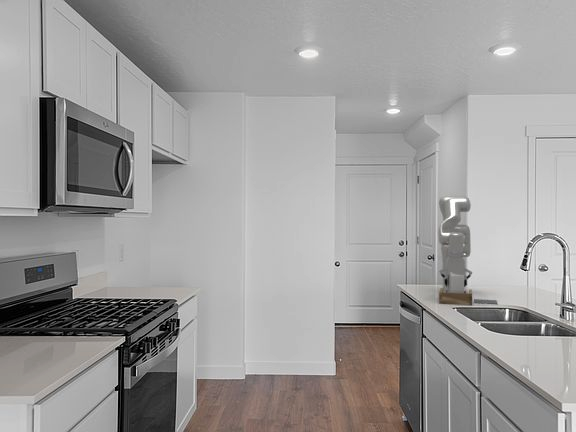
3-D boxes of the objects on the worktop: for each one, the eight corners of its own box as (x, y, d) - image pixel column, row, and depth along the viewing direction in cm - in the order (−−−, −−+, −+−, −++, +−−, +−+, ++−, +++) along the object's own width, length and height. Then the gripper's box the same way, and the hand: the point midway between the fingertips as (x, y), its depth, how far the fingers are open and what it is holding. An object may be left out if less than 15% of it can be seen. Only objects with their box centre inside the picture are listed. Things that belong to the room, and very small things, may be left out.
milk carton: (464, 303, 274) (464, 268, 274) (451, 303, 274) (451, 268, 274) (460, 301, 281) (460, 267, 281) (447, 301, 281) (447, 267, 281)
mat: (473, 299, 287) (473, 299, 287) (496, 300, 283) (496, 300, 283) (473, 303, 275) (473, 302, 275) (497, 304, 271) (497, 303, 271)
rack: (440, 298, 291) (440, 288, 291) (471, 300, 285) (471, 289, 285) (439, 303, 275) (438, 292, 275) (472, 305, 269) (472, 294, 269)
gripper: (472, 255, 278) (472, 286, 278) (439, 254, 284) (439, 284, 284) (472, 256, 271) (472, 288, 271) (438, 255, 277) (439, 286, 277)
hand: (455, 286), depth 278 cm, fingers open, 9 cm apart
